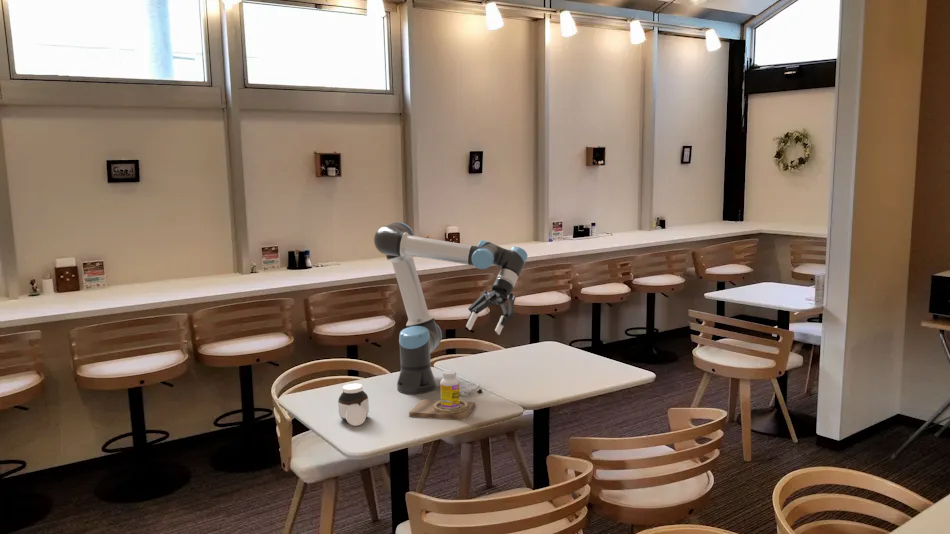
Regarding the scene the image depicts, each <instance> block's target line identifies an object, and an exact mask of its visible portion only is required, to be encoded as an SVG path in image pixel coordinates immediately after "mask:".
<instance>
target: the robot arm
mask: <svg viewBox="0 0 950 534" xmlns="http://www.w3.org/2000/svg"><path fill="white" fill-rule="evenodd" d="M373 244H374V246H375V248H376V250H377V251H378V252H379V253H381V254H383V255H385V256H386V259H387V261H388V262H390V263H391V264H392V267H393V271H394V274H395V277H396V280H397V285H398V288H399V291H400V294H401V298H402V301H403V306H404V309H405V312H406V316H407V322H406V324H405V326H406V328H403V329H402V330H400V332H399V337H398V343H399V362H400V371H399V375H398V378H397V383H396V390H397V391H398V392H400V393H403V394H409V395H410V394H413V395H414V394H415V395H416V394H424V393H429V392H432V391H434V390H435V389H436V387H437V381H436V379H435V376H434V373H433V371H432V367H431V366H432V365H431V353H432V352H434V351H436V349H437V348H438V347H439V345H440V344H441V341H442V337H443V335H442V334H443V333H442V330H441V327H440V326H439V325H438V324H437V323H436V321H435V318H434V316H433V315H432V314H430V313H429V309H428V306H427V302H426V299H425V295H424V292H423V289H422V285H421V282H420V278H419V275H418V271H417V267H416V265H415V264H416V263H415V260H414V257H417V258H423V259H431V260H437V261H441V262H442V261H443V262H448V263H453V264H454V263H455V264H460V265H467V266H471V267H474V268H476V269H479V270H485V269H488V268H489V267H491V266H492V265H494V266H496V267H498V268H500V270H499V272H498V274H497V276H496V279H495V281H494V282H493V285H492V287H491V291H490V292H488V291H487V290H484V291H483V292H482V294H480V296H479V297H478V298H477V299H476V300H475V301H474V302H473V303H472V304H471V305H470V306H469V307H468V311H469V316H468V318H467V320H468V321H467V322H466V325H465V327H466V328H467V329H468V330H469V331H471V330H472V329H473V327H474V324H475V322H476V320H477V319H478V314H479V313H480V312H482V311H484V310H485V309H487V308H488V307H489V306H492V305H494V306H495V305H496V306H500V307H501V310H502V314H503V315H501V316H500V317H499V321H498V322H497V325H496V326H495V329H494V331H495V333H496V334H497V335H499V336H500V335H501V332H502V330H503V328H504V327H506V325H507V323H508V321H509V320H510V319H514V318H515V300H516V297H515V295H514V294H513V293H512V292H513V290H514V287H515V285H516V284H517V281H518V280H519V277H520V275H521V273H522V271H523V269H524V266H525V264H526V261H527V260H528V253H527V252H526V250H525V249H524V248H521V247H519V246H512V247H511V248H510V249H507V248H505V247H501V246H499V245H497V244H495V243H493V242H492V241H491V242H490V241H487V240H485V239H481V240H480V241H479V242H478V244H477V245H472V244H471V245H470V244H465V243H460V242H459V243H458V242H452V241H447V240H442V239H441V240H440V239H434V238H428V237H422V236H416V235H415V233H414V231H413V229H412V228H411V227H410V226H409V225H408V224H406V223H403V222H398V221H397V222H396V221H395V222H393V223H389V224H386V225H383V226H381V227H379V228H378V229H377V230H376V232H375V233H374V236H373ZM506 301H508V302H507V303H508V304H506ZM507 305H508V308H507Z"/></svg>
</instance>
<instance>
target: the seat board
mask: <svg viewBox="0 0 950 534" xmlns="http://www.w3.org/2000/svg"><path fill="white" fill-rule="evenodd" d="M474 406H475V407H476V401H466V400H462V399H460V407H459V408H457V409H452V410H446V409H443V408H442V407H441V399H425V398H424V399H421V400H420V401H419V402H418V403H416V404H415V406H413V408H412V409H411V410H410V411H409V412H408V416H409V417H411V416H413V418H414V416H415V417H416V418H428V417H432V418H431V419H446V418H447V419H448V420H449V419H450V420H462V419H465V418H466V419H467V417H468V416H469V415H470V413H471V412H472V411H471V410H474V408H475V407H474ZM470 411H471V412H470ZM468 414H469V415H468ZM466 419H465V420H466Z"/></svg>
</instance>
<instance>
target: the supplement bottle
mask: <svg viewBox="0 0 950 534" xmlns="http://www.w3.org/2000/svg"><path fill="white" fill-rule="evenodd" d="M456 376H457V370H453V369H451V370H450V369H448V370H443V371H442V377H443V378H442V379H441V380H440V382H439V383H440V400H441V407H442V408H443V409H446V410H452V409H457V408H459V407H460V400H461V399H460V398H461V397H460V396H461V395H460V394H461V393H460V380H459V379H458V378H457V377H456Z"/></svg>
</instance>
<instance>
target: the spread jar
mask: <svg viewBox="0 0 950 534" xmlns="http://www.w3.org/2000/svg"><path fill="white" fill-rule="evenodd" d="M337 406H338V408H337V409H338V414H339V417H340V419H342V420H343V421H344V422H346V421H347V423H348V424H349V425H351V426H355V427H357V426H360V425H362V424H363V423H364V422H365V421H366V418H367V416H368V414H369V411H370V410H369V409H370V406H369V396H368V394H367V393H366V392H365V391H364V389H363V385H362V384H361V383H348V384H344V385H343V386H342V393H341V394H340V395H339V397H338V401H337Z"/></svg>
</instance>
